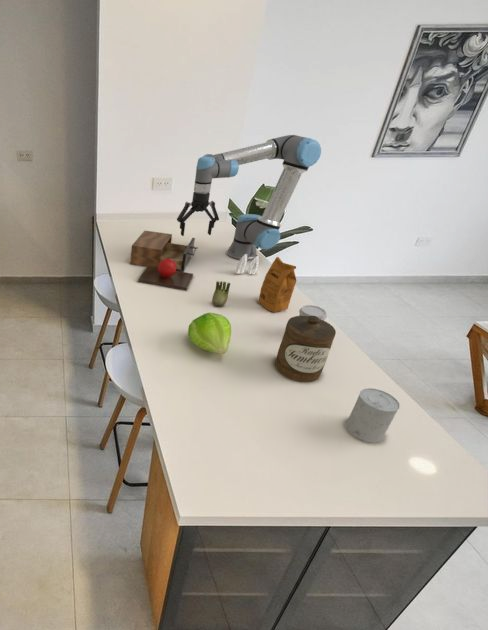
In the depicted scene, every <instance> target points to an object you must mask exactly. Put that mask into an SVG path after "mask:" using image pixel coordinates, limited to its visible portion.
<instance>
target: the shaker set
mask: <svg viewBox="0 0 488 630" xmlns="http://www.w3.org/2000/svg"><path fill="white" fill-rule="evenodd" d="M247 263H248V260H247V254H245V255H244V256H243V257H242V258H241V259H240V260H239V261H238V263H237V265H236V268H235V273H236V275H238V274H239V275H242V274H244V273H245V271H246V267H247ZM259 265H260V255H257V256H256V257H255V258H254V259H252V260H251V262H250V263H249V266H248V269H247V271H246V272H247V274H248V275H252V276H253V275H256V273H257V270H258V268H259Z"/></svg>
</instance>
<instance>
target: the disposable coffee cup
mask: <svg viewBox="0 0 488 630" xmlns="http://www.w3.org/2000/svg"><path fill="white" fill-rule="evenodd" d="M298 313H299V315H298V316H316V317H318V318H319V319H321V320H323V321H325V320H326V319H327V317H328V315H327V312H326V310H325V309H324V308H322V307H320V306H317V305H311V304H305V305H302V306H301V308H299V310H298Z"/></svg>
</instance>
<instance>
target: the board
mask: <svg viewBox="0 0 488 630" xmlns="http://www.w3.org/2000/svg"><path fill="white" fill-rule="evenodd" d="M193 278H194V273H191V272H187V271H184V272H182V271H181V270H176V272H175V273H174V275H172V276H171V277H169V278H163V277H162V276H161V275H160V274H159V272H158V268H156V267H150V266H147V267H145V269H144V270H143V272H142V273H141V275H140V276H139V277H138V279H137V282H138V283H142V284H148V285H153V286H156V287H157V286H159V287H163V288H169V289H174V290H178V291H179V290H180V291H185V292H187V291H188V289H189V286H190V284H191V282H192V279H193Z"/></svg>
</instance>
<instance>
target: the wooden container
mask: <svg viewBox="0 0 488 630" xmlns="http://www.w3.org/2000/svg"><path fill="white" fill-rule="evenodd" d="M335 337H336V329H335V327H334V326H333V325H332V324H330V323H329V322H327V321H325V320H324V321H323V320H321V319H319V318H318V317H316V316H299V315H295V316H292V317H290V318H288V320H287V323H286V325H285V330H284V332H283V336H282V339H281V341H280V344H279V347H278V350H277V353H276V354H277V355H276V357H275V361H274V367H275V368H276V370H277V371H278V372H279V374H281V375H282V376H283V377H286V378H287V379H290V380H293V381H297V382H300V383H301V382H302V383H311V382H315V381H317V380H319V379H320V377H321V375H322V372H323V370H324V368H325V365H326V363H327V360H328V357H329V353H330V350H331V348H332V346H333V342H334V339H335Z"/></svg>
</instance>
